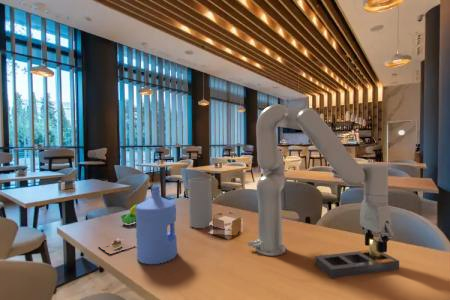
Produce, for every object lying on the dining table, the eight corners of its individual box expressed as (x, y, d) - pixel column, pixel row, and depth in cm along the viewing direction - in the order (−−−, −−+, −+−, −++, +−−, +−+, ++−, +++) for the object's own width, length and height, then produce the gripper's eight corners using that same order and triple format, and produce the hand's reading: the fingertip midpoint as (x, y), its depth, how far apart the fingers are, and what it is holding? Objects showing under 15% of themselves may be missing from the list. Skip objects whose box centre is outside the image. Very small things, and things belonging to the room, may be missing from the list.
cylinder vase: (216, 223, 143) (215, 178, 142) (203, 230, 132) (202, 182, 131) (199, 220, 150) (198, 177, 149) (184, 226, 139) (183, 180, 138)
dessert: (97, 249, 113) (97, 238, 113) (124, 241, 122) (123, 231, 121) (109, 257, 105) (108, 245, 104) (136, 248, 113) (136, 237, 113)
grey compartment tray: (331, 278, 84) (331, 269, 84) (315, 264, 94) (315, 255, 94) (399, 269, 89) (399, 260, 89) (376, 256, 99) (376, 248, 99)
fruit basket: (137, 219, 154) (136, 200, 153) (146, 222, 148) (146, 202, 148) (119, 225, 144) (119, 205, 144) (129, 227, 139) (128, 207, 139)
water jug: (140, 269, 93) (138, 192, 92) (134, 253, 107) (132, 186, 106) (182, 259, 100) (180, 187, 99) (171, 245, 114) (169, 182, 113)
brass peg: (374, 267, 91) (374, 242, 91) (366, 262, 95) (366, 238, 94) (384, 266, 92) (384, 241, 91) (375, 261, 96) (375, 237, 95)
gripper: (350, 194, 100) (350, 240, 101) (385, 205, 83) (385, 260, 84) (367, 193, 102) (367, 238, 102) (405, 203, 85) (405, 257, 85)
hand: (375, 248), depth 93 cm, fingers open, 5 cm apart
